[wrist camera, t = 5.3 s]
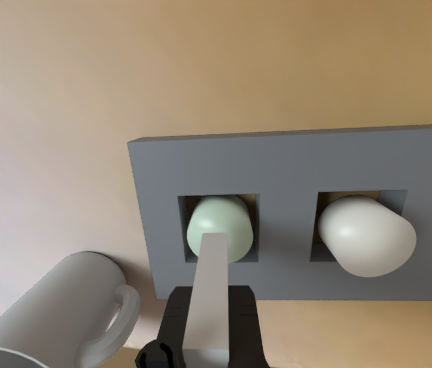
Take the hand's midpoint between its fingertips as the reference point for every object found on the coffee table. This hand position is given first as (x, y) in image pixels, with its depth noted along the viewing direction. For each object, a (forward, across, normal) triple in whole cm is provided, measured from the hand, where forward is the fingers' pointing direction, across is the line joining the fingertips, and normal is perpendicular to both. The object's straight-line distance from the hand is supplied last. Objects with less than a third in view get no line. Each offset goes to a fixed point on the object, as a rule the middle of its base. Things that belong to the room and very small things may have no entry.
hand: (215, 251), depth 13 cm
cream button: (+4, +10, 0) cm, 11 cm away
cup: (+6, -12, -8) cm, 15 cm away
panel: (+6, +10, 0) cm, 12 cm away
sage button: (+5, 0, 0) cm, 5 cm away
